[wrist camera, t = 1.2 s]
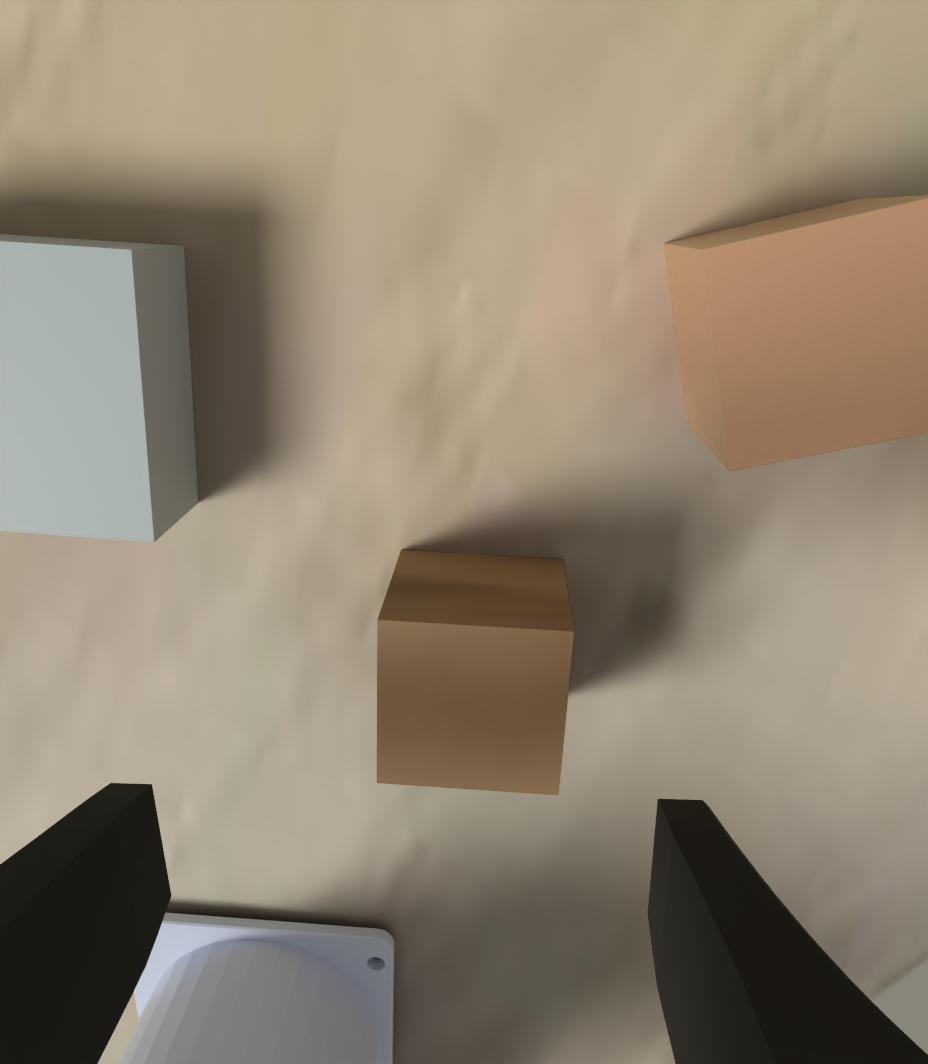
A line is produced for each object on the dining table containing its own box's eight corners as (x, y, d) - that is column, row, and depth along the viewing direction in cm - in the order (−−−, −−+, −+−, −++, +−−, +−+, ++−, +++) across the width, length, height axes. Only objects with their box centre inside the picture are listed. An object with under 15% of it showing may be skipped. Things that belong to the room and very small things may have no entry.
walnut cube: (549, 697, 22) (558, 795, 18) (399, 688, 22) (377, 782, 18) (562, 557, 21) (574, 631, 17) (401, 548, 21) (377, 620, 17)
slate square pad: (202, 498, 21) (154, 542, 18) (-33, 481, 21) (-118, 521, 18) (188, 245, 19) (131, 249, 16) (-73, 228, 19) (-176, 229, 16)
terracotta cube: (866, 385, 19) (955, 427, 15) (687, 422, 19) (729, 471, 15) (855, 199, 17) (950, 193, 14) (662, 243, 18) (702, 249, 14)
